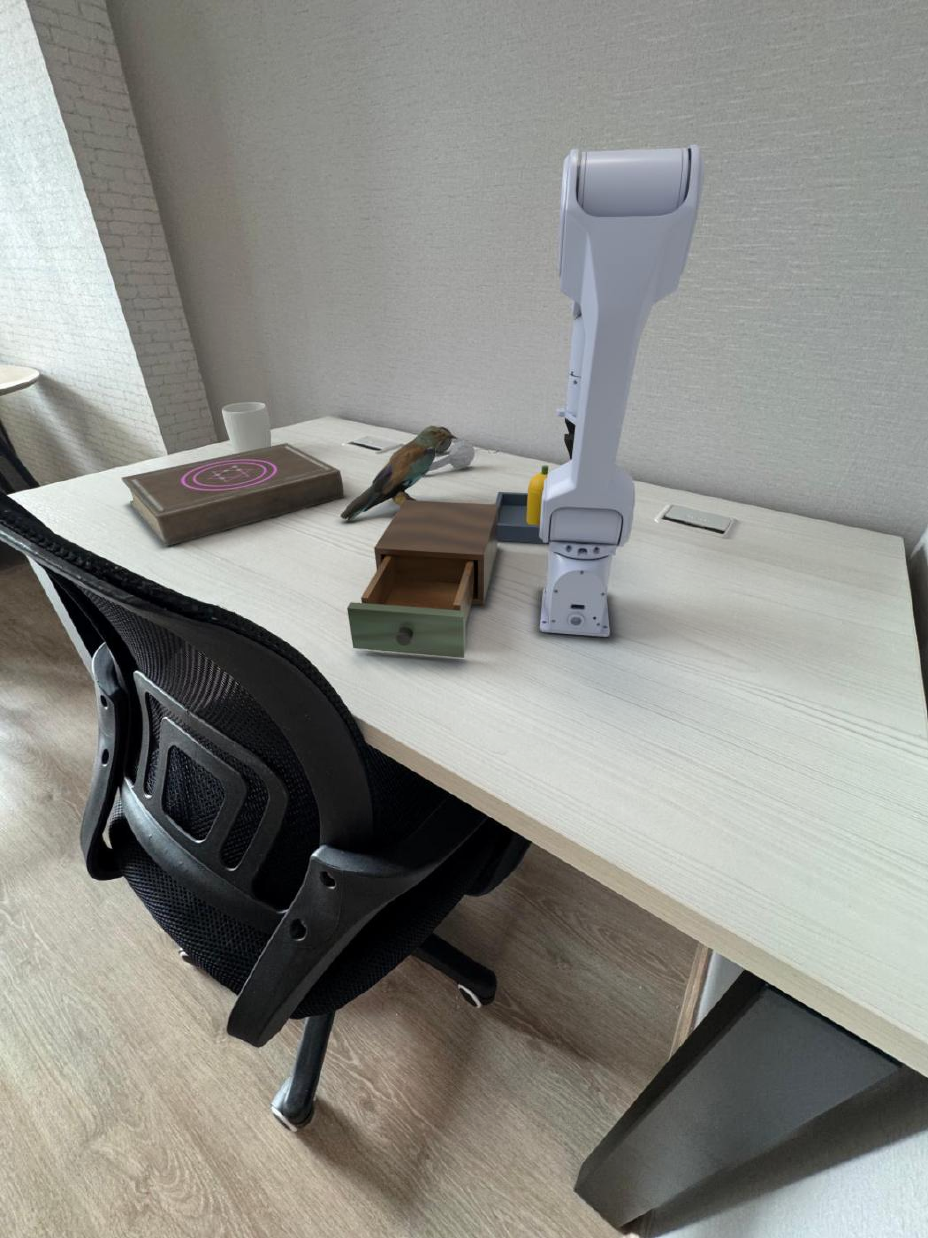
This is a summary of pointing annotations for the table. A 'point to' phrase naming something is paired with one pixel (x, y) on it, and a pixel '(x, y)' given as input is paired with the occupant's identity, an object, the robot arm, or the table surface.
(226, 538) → the table surface
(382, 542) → the cabinet
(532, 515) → the pepper
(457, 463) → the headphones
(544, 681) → the table surface
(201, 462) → the book
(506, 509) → the tray
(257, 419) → the mug
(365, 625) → the drawer
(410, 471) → the bird figurine
